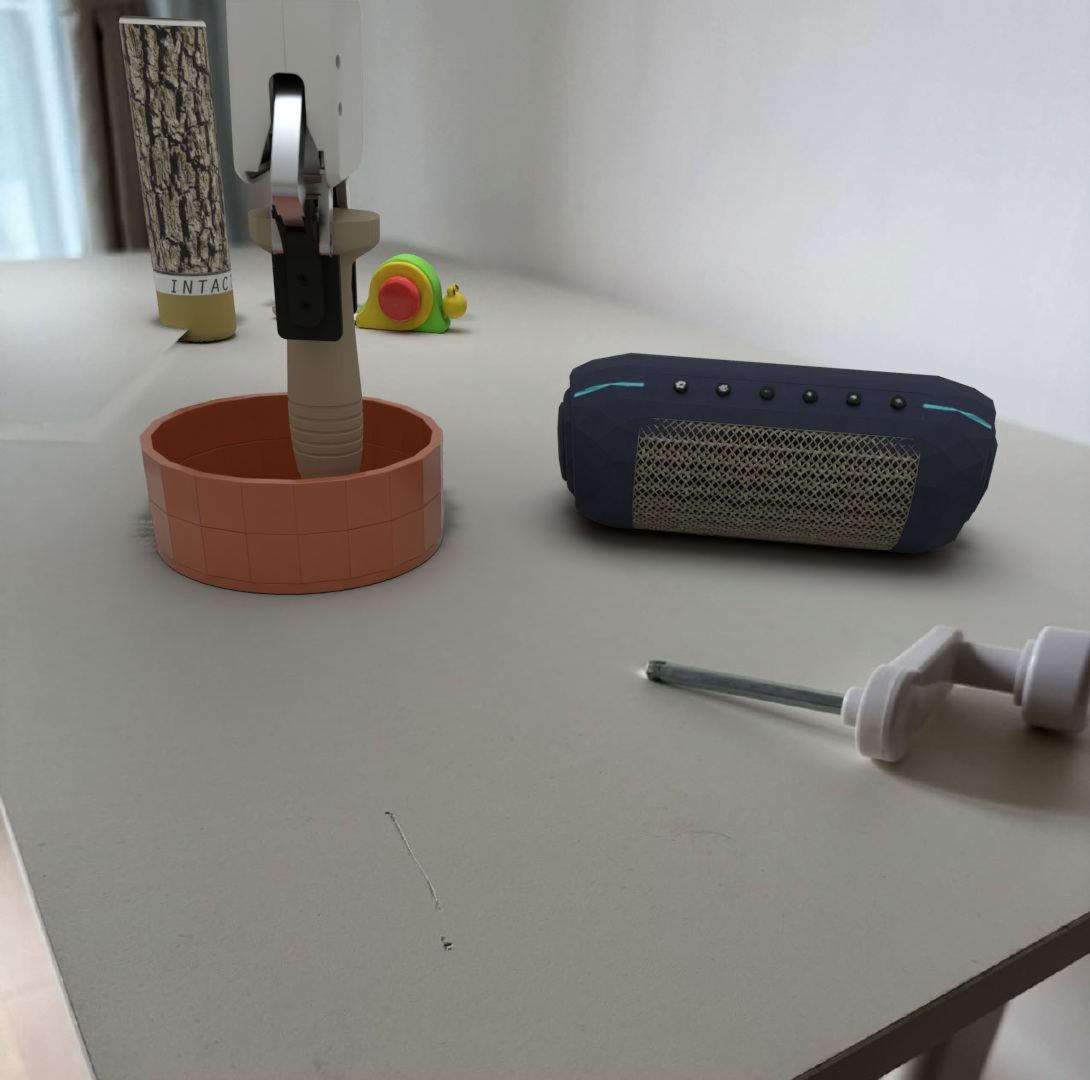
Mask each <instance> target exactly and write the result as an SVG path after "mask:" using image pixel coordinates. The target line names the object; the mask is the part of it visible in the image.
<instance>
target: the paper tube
mask: <svg viewBox="0 0 1090 1080" xmlns="http://www.w3.org/2000/svg"><path fill="white" fill-rule="evenodd" d="M206 25H207V24H206V23H205V21H204V20H203V19H199V18H182V17H179V18H178V17H160V16H156V17H155V16H137V15H133V16H131V15H122V16H120V17H119V21H118V29H119V34H120V42H121V49H122V55H123V56H122V57H123V61H124V62H123V63H124V72H125V77H126V85H127V92H128V100H129V106H130V115H131V120H132V128H133V129H132V130H133V137H134V142H135V151H136V158H137V165H138V173H139V179H140V181H139V182H140V186H141V194H142V201H143V210H144V217H145V223H146V231H147V238H148V245H149V252H150V253H149V254H150V260H151V266H152V267H151V268H152V276H153V281H154V289H155V296H156V303H157V309H158V316H159V323H160V324H161V325H162V326H165V327H168V328H172V329H178V330H186V331H185V332H184V333H183V334H181V336H180V337H179V338H177V341H179V340H181V342H189V341H193V342H192V343H204V342H203V341H206V342H215V340H216V341H221V340H226V339H229V338H231V337H232V336H233V335H235V333H236V331H237V327H238V325H237V316H236V306H235V296H234V284H233V274H232V268H231V267H232V265H231V263H232V262H231V254H230V245H229V234H228V225H227V224H228V223H227V216H226V206H225V205H226V204H225V197H224V196H225V195H224V187H223V186H224V185H223V175H222V166H221V156H220V148H219V146H220V145H219V137H218V127H217V119H216V117H217V116H216V109H215V99H214V98H215V97H214V89H213V88H214V87H213V80H212V71H211V61H210V60H211V59H210V49H209V40H208V31H207V26H206ZM199 341H200V342H199Z"/></svg>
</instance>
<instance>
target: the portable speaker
mask: <svg viewBox="0 0 1090 1080" xmlns="http://www.w3.org/2000/svg"><path fill="white" fill-rule="evenodd" d="M568 379H569V387H568V388H567V389H566V390H565V391H564V394H563V397H562V401H561V402H560V404H559V406H558V411H557V426H556V433H557V453H558V454H557V457H558V463H559V464H558V465H559V468H560V475H561V478H562V480H563V481H564V482H566V488H567V490H568V491H569V492H570V493H571V495H572V496H573V497H574V506H575V508H576V510H577V511H578V513H579V514H581V515H583V516H584V517H586V518H588V519H589V520H592V521H593V522H594V523H596V524H600V525H604V526H607V527H611V528H616V529H631V530H643V531H652V532H653V531H654V532H666V533H675V534H687V535H688V534H689V535H697V536H698V535H699V536H711V537H721V538H732V539H743V540H756V541H766V542H778V543H789V544H800V545H801V544H802V545H811V546H821V547H822V546H823V547H835V548H845V549H855V550H856V549H857V550H868V551H877V552H878V551H881V552H890V553H900V554H918V553H919V554H920V553H929V552H931V551H933V550H936V549H938V548H941V547H943V546H946V545H949V544H951V543H953V542H955V541H956V539H957V537H958V536H959V534H960V533H961V531H962V529H963V527H964V526H965V524H966V523H967V522H969V521H970V519H971V517H972V516H973V514H975V512H976V511H977V508H978V507H979V505H980V503H981V501H982V499H983V497H984V496H985V493H986V492H987V490H988V488H989V484H990V481H991V476H992V473H993V469H994V465H995V461H996V456H997V450H998V447H999V444H998V440H997V436H996V435H997V430H996V417H997V409H996V405H995V402H994V400H993V399H992V398H991V397H989V396H988V395H986V394H985V393H983V392H982V391H980V390H979V389H977V388H975V387H973V386H970V385H966V384H964V383H961V382H958V381H955V380H952V379H949V378H947V377H943V376H941V375H937V374H936V375H934V374H922V373H921V374H919V373H908V372H907V373H906V372H894V371H881V370H867V369H855V368H840V367H828V366H827V367H826V366H815V365H813V366H812V365H801V364H787V363H773V362H761V361H746V360H733V359H722V358H706V357H705V358H704V357H695V356H694V357H693V356H681V355H680V356H679V355H668V354H667V355H666V354H655V353H654V354H652V353H642V352H641V353H640V352H639V353H638V352H627V353H621V354H615V355H610V356H605V357H599V358H593V359H591V360H589V361H585V362H584V363H582V364H580V365H577V366H575V367H574V368H572V370H571V371H570V373H569V378H568Z"/></svg>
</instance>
